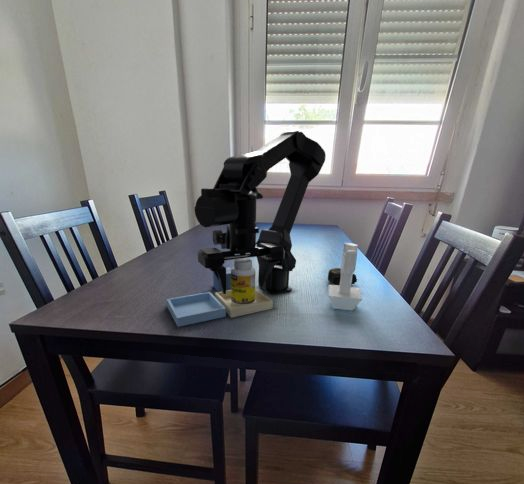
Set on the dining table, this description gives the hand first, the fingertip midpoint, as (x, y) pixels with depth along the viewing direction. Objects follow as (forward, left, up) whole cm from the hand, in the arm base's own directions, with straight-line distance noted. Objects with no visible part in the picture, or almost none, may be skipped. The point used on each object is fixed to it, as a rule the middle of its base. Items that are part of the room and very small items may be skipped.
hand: (242, 290), depth 65 cm
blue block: (0, -11, -4) cm, 12 cm away
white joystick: (-21, +11, -4) cm, 24 cm away
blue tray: (+11, -1, -4) cm, 12 cm away
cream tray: (0, 0, -4) cm, 4 cm away
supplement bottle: (0, 0, -3) cm, 3 cm away
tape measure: (-31, 0, -4) cm, 31 cm away
